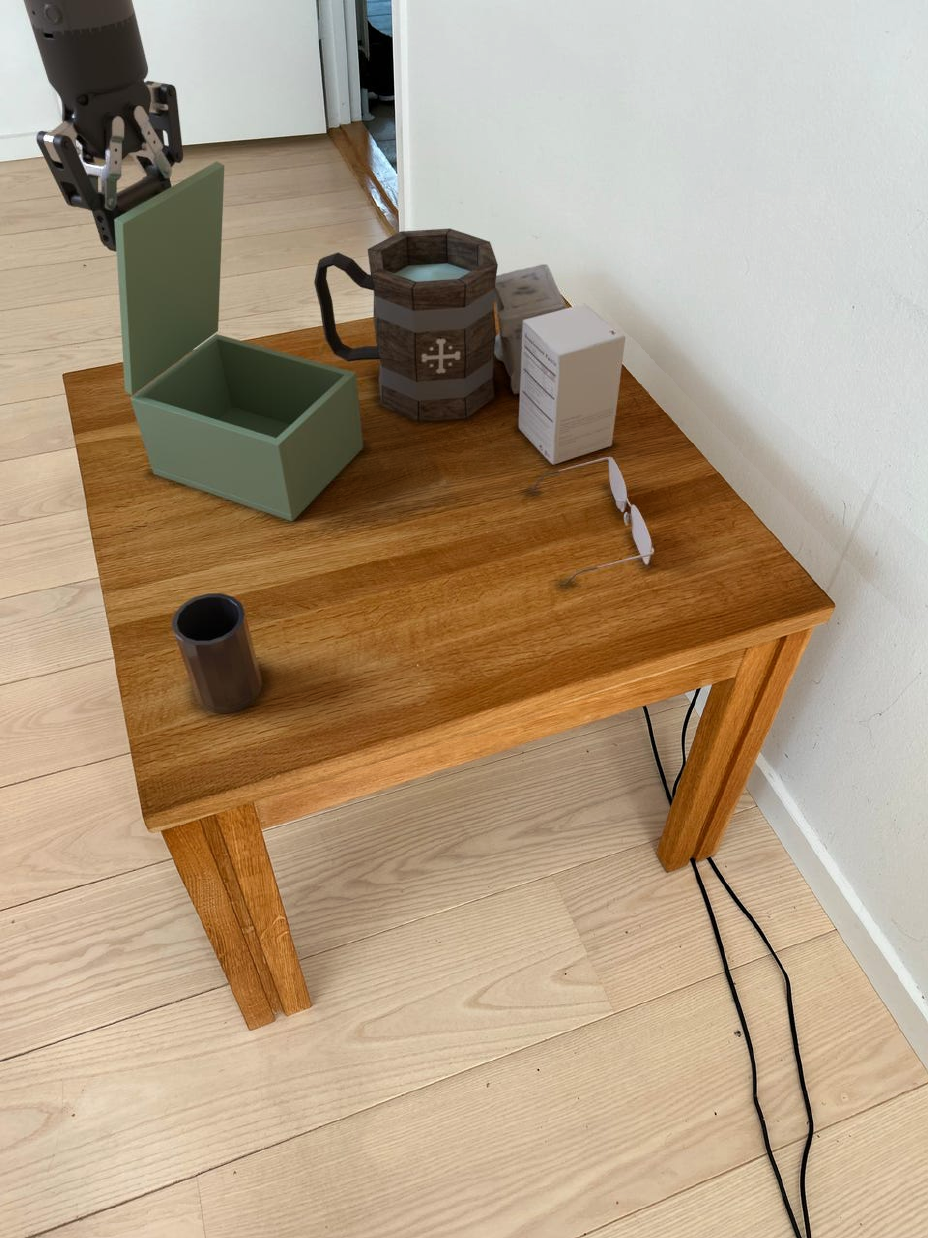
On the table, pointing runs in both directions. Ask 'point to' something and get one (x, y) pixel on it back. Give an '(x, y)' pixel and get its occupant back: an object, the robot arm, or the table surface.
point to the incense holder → (521, 311)
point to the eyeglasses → (637, 521)
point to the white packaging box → (569, 382)
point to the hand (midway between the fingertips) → (142, 234)
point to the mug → (425, 321)
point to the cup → (218, 652)
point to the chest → (251, 424)
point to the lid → (168, 270)
